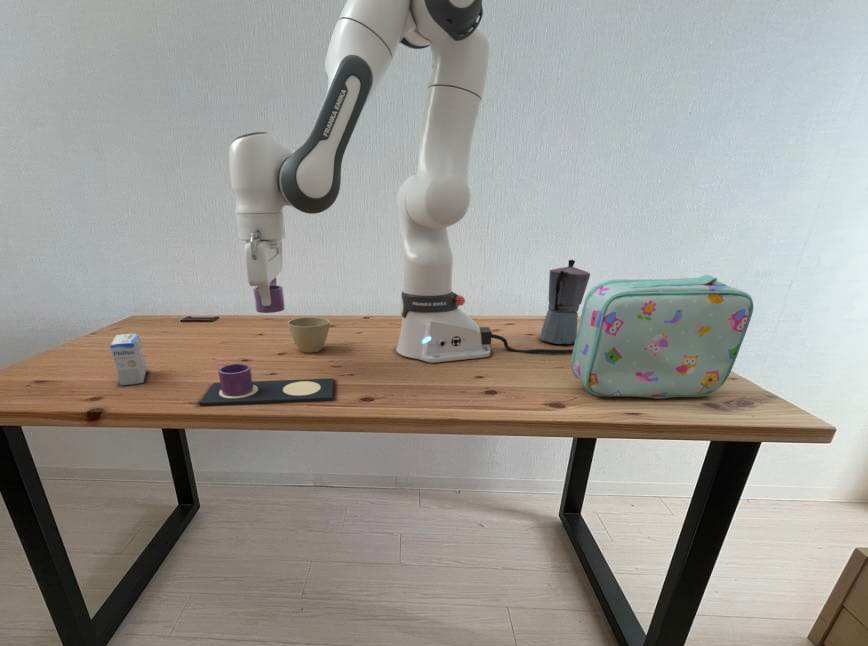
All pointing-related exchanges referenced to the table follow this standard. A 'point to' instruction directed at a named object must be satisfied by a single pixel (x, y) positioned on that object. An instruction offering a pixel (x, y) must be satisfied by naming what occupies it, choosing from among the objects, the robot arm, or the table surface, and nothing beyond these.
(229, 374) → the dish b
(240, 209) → the robot arm
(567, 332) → the moka pot
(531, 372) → the table surface
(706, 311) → the lunch box
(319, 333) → the flower pot
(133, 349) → the medicine box
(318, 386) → the mat
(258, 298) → the purple cup
